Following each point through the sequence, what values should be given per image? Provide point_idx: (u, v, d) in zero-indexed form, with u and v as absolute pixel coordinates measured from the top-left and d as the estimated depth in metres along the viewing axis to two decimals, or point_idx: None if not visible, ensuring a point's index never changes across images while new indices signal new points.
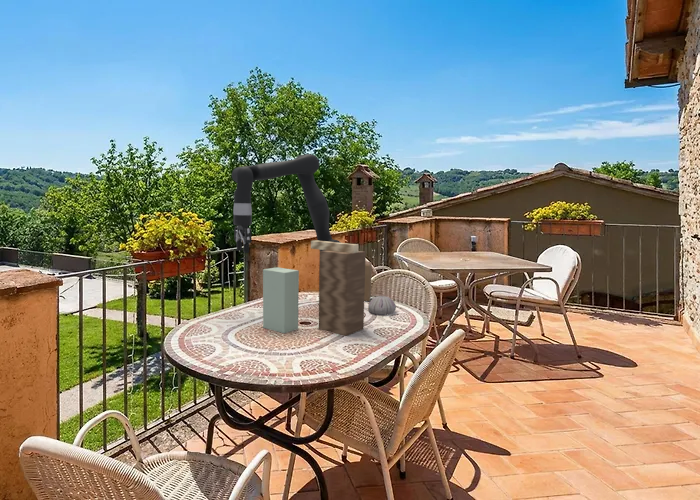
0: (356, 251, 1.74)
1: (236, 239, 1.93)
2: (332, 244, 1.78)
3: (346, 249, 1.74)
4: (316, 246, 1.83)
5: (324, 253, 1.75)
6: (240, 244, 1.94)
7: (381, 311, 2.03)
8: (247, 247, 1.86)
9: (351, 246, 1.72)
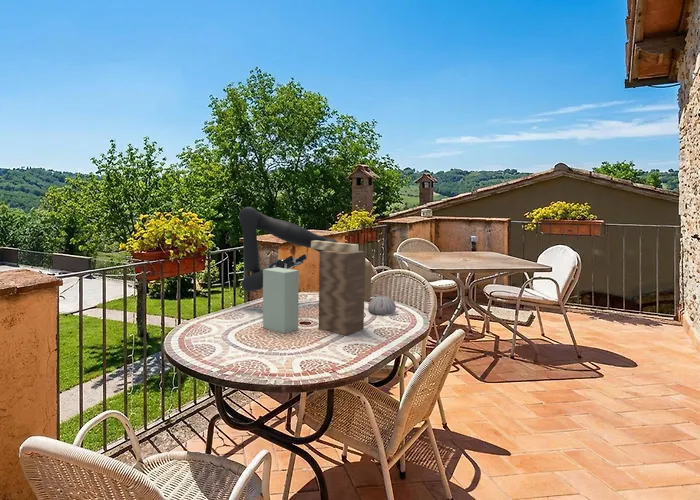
0: (356, 251, 1.74)
1: (299, 263, 1.98)
2: (332, 244, 1.78)
3: (346, 249, 1.74)
4: (316, 246, 1.83)
5: (324, 253, 1.75)
6: (300, 257, 1.96)
7: (381, 311, 2.03)
8: (287, 259, 1.88)
9: (351, 246, 1.72)
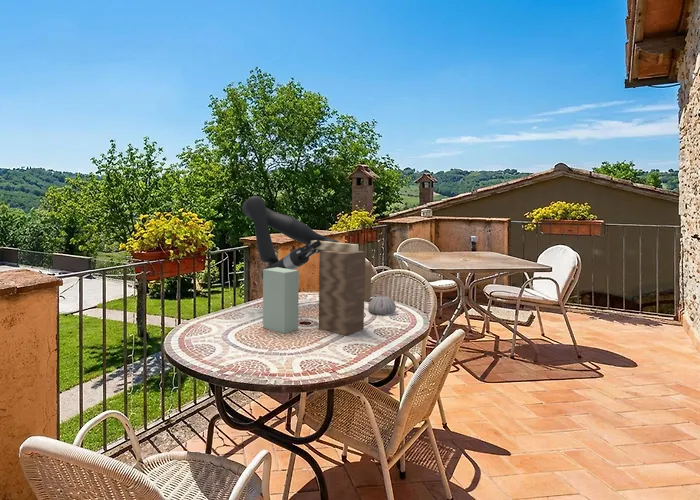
0: (356, 251, 1.74)
1: (319, 249, 1.87)
2: (332, 244, 1.78)
3: (346, 249, 1.74)
4: None
5: (324, 253, 1.75)
6: None
7: (381, 311, 2.03)
8: (314, 244, 1.82)
9: (351, 246, 1.72)
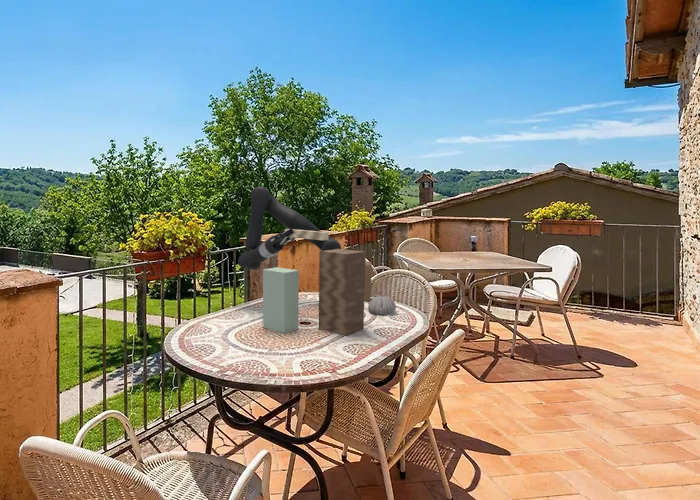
0: (326, 238, 1.82)
1: (292, 237, 1.96)
2: (304, 232, 1.86)
3: (317, 236, 1.82)
4: None
5: (324, 253, 1.75)
6: None
7: (381, 311, 2.03)
8: (287, 232, 1.90)
9: (321, 234, 1.81)
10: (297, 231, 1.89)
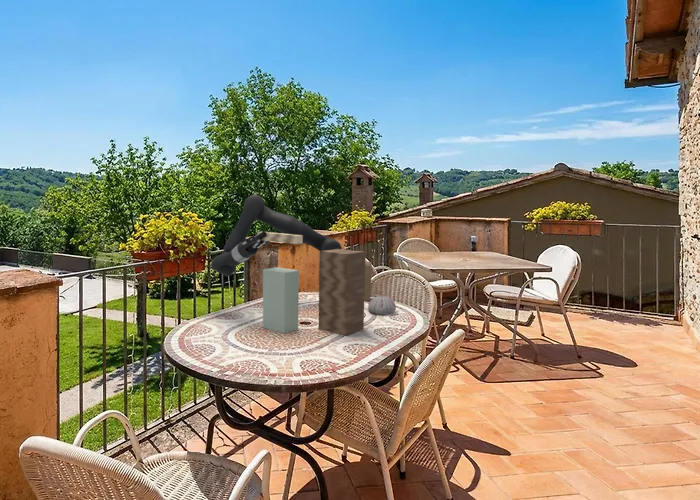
0: (300, 242, 1.71)
1: None
2: (277, 235, 1.75)
3: (290, 240, 1.71)
4: None
5: (324, 253, 1.75)
6: None
7: (381, 311, 2.03)
8: (260, 235, 1.79)
9: (294, 237, 1.69)
10: (270, 234, 1.77)
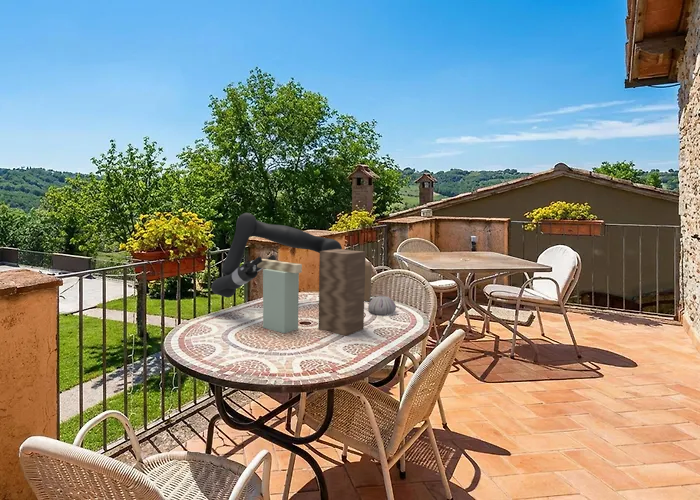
0: (299, 271, 1.72)
1: None
2: (276, 263, 1.76)
3: (289, 269, 1.72)
4: (261, 265, 1.81)
5: (324, 253, 1.75)
6: (269, 259, 1.86)
7: (381, 311, 2.03)
8: (255, 261, 1.79)
9: (294, 266, 1.71)
10: (270, 262, 1.78)
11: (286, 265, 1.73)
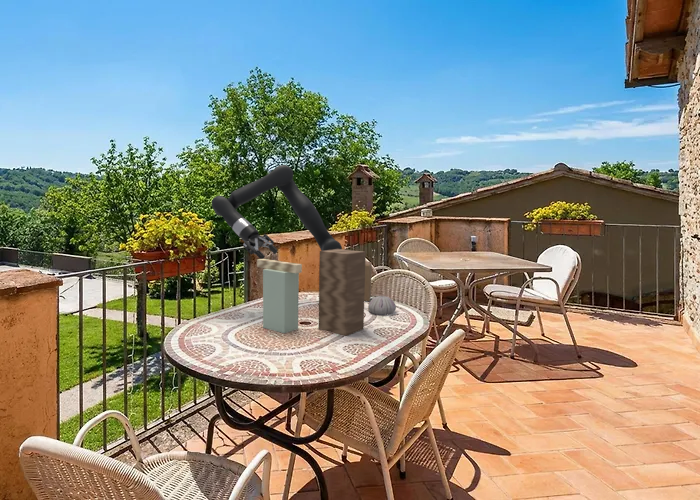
0: (299, 271, 1.72)
1: None
2: (276, 263, 1.76)
3: (289, 269, 1.72)
4: (261, 265, 1.81)
5: (324, 253, 1.75)
6: (271, 247, 1.96)
7: (381, 311, 2.03)
8: (258, 254, 1.89)
9: (294, 266, 1.71)
10: (269, 262, 1.78)
11: (286, 265, 1.73)
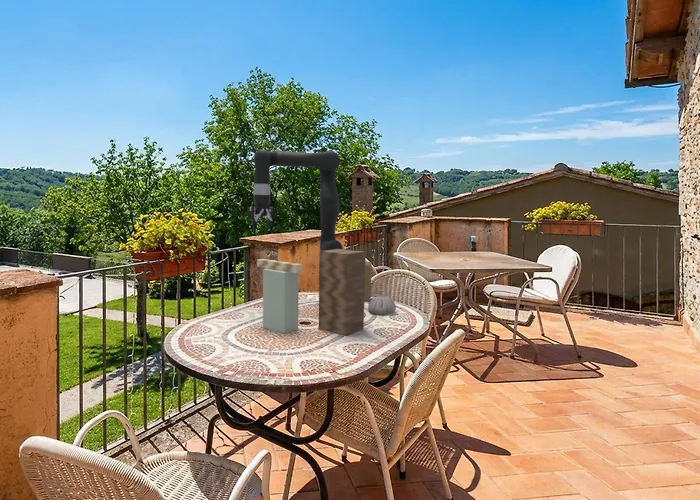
0: (299, 271, 1.72)
1: None
2: (276, 263, 1.76)
3: (289, 269, 1.72)
4: (261, 265, 1.81)
5: (324, 253, 1.75)
6: (268, 223, 2.08)
7: (381, 311, 2.03)
8: (253, 224, 2.01)
9: (294, 266, 1.71)
10: (269, 262, 1.78)
11: (286, 265, 1.73)
